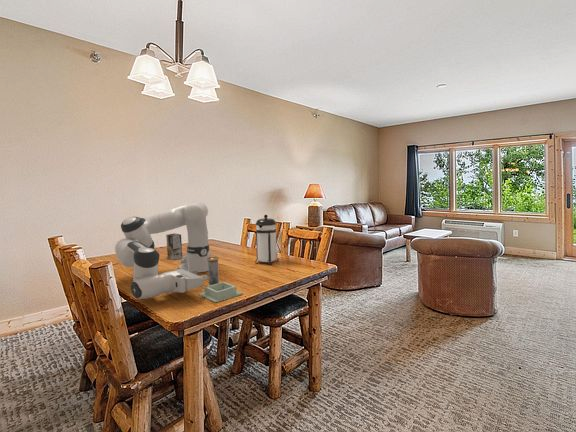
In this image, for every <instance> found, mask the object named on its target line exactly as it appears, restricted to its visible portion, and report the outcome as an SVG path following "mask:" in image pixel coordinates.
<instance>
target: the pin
mask: <svg viewBox="0 0 576 432" xmlns="http://www.w3.org/2000/svg"><path fill="white" fill-rule="evenodd" d="M219 260H220V259H219V257H218V256H211V257H209V258H207V261H208V268H209V271H208V284H209V285H208V286H210V285H214V284H217V283H220V281H219V279H220V277H219Z"/></svg>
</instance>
